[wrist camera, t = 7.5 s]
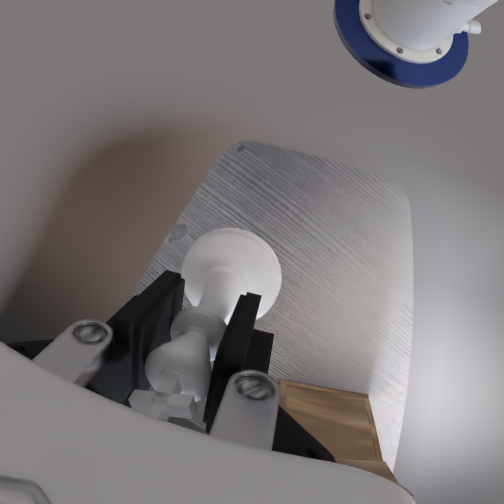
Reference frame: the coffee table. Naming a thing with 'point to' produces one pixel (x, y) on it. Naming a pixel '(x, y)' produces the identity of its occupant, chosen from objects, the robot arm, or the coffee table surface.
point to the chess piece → (206, 318)
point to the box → (333, 419)
